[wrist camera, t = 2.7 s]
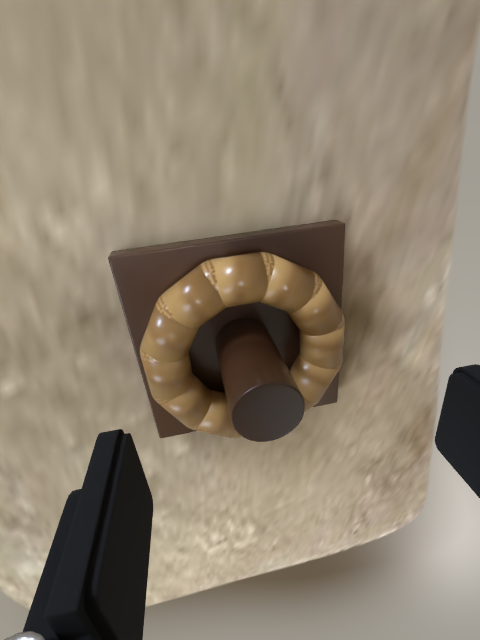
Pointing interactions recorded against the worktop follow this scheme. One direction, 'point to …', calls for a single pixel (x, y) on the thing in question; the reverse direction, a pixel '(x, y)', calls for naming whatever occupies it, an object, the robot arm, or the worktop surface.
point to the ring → (226, 291)
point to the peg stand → (236, 324)
